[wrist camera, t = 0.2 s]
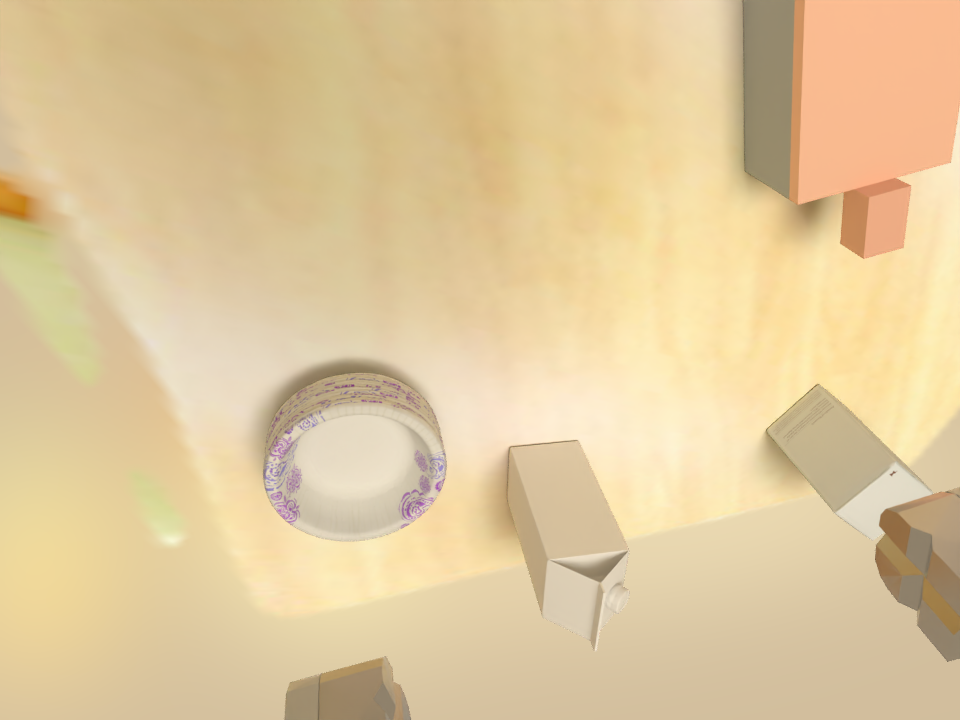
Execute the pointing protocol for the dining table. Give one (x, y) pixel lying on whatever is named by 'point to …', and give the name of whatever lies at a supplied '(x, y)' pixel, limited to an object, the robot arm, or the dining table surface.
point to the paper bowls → (354, 457)
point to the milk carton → (567, 537)
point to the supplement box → (845, 461)
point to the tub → (768, 90)
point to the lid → (872, 108)
